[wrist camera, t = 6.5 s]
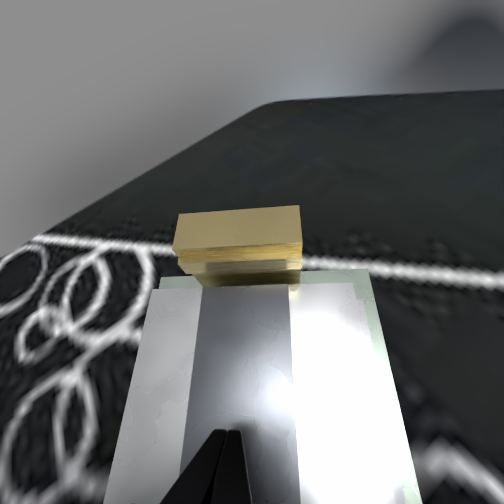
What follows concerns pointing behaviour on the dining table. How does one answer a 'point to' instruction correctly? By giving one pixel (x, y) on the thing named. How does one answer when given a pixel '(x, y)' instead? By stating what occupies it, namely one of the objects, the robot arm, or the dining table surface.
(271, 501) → the dark grey flat bar
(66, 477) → the dining table surface
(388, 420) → the board
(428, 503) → the dining table surface
